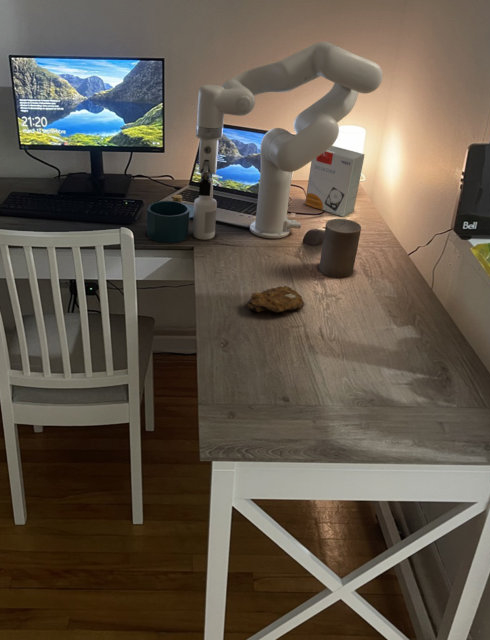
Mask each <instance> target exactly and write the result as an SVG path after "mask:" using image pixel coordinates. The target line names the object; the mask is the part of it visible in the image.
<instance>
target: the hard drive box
mask: <svg viewBox="0 0 490 640" xmlns="http://www.w3.org/2000/svg"><path fill="white" fill-rule="evenodd" d="M365 156H366V155H365V154H364V153H361V152H358V151H353V150H350V149H346V148H342V147H339V146H335V145H332V146H331V147H330V148H329V149H328V150H326V151H325V152H324V153H322V154H321V155H319V156H318V157H317V158H315V159H314V160H312V161H311V162H310V169H309V175H308V183H307V188H306V195H305V201H304V205H306V206H309V207H312V208H315V209H318V210H322V211H325V212H328V213H331V214H333V215H337V216H340V217H343V218H344V217H345V216H347V215H350V214H352V213H353V212H355V206H356V201H357V196H358V191H359V185H360V181H361V176H362V170H363V165H364V161H365Z"/></svg>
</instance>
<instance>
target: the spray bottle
mask: <svg viewBox="0 0 490 640" xmlns="http://www.w3.org/2000/svg"><path fill="white" fill-rule="evenodd" d="M213 180H214V178H213V177H212V178H210V182H211V188H210V196H202V195H199V194H198V197H197V198H195V199H194V201H193V207H194V217H193V218H192V219H193V221H192V236H193V237H194V238H196V239H199V240H211V239H213V238H215V235H216V222H217V207H218V201H217V199H215V198H214V185H213Z"/></svg>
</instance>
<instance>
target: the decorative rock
mask: <svg viewBox="0 0 490 640" xmlns="http://www.w3.org/2000/svg"><path fill="white" fill-rule="evenodd" d="M304 304H305V302H304V300H303V296H302V295H300V294H299V293H298V292H297V291H296V290H295V289H292V287H290V286H287V285H284V286H277V287H272V288H269V289H266V290H263V291H261V292H252V293H251V297H250V301H248V303H247V304H246V306H248V309H249V310H252V311H254V312H255V313H260V312H265V311H271V312H272V313H277V314H278V313H280V312H281V313H282V312H286V311H288V310H290V311H293V310H297V311H301V310H302V309H303V307H305V306H304Z"/></svg>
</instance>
